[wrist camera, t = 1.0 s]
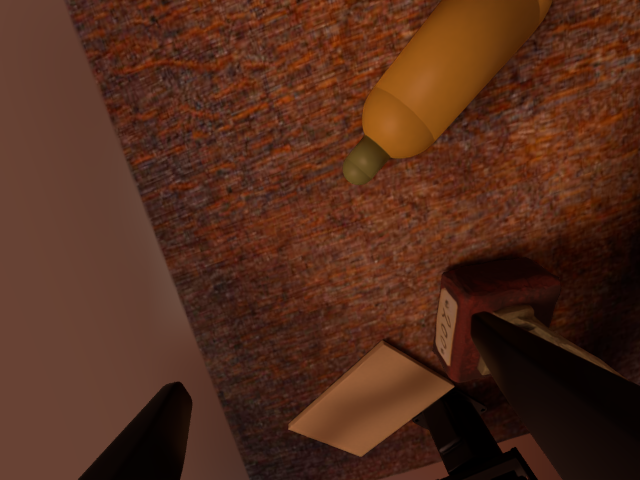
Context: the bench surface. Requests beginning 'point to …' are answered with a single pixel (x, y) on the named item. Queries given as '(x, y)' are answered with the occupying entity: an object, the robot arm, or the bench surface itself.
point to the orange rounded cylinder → (439, 77)
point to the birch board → (371, 400)
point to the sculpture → (495, 311)
